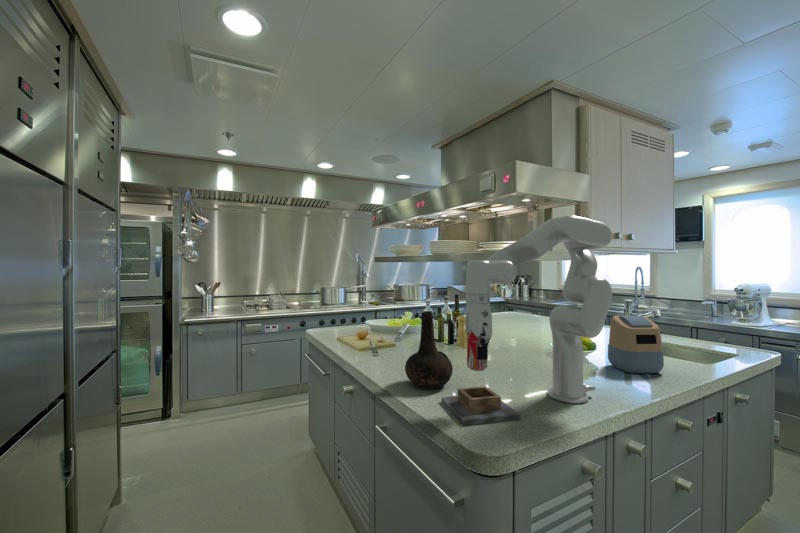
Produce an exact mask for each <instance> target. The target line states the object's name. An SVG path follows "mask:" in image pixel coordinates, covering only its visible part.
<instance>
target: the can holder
mask: <svg viewBox="0 0 800 533" xmlns="http://www.w3.org/2000/svg"><path fill="white" fill-rule="evenodd" d="M441 403H442V404H443V405H444V407H445V408H446V409H447V410H448V411H449V412H450V413H451V415H453V417H455V418H456V419H457V421H458V422H459V423H460V424H461V425H462V426H472V425H473V426H474V425H482V424H488V423H489V424H490V423H499V422H508V421H509V422H510V421H516V420H517V421H518V420H521V413H519V412H518V411H516V410H515V409H514V408H512V407H511V406H509V405H508V404H507V403H505V402H504V401H503V400H502V399H501V396H500V394H497V393H496V392H494V391H493V390H492V389H490V388H489V387H488V386H484V385H483V386H473V387H464V388H463V387H461V388H457V395H453V396H443V397H441Z"/></svg>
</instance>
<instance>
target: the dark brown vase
mask: <svg viewBox="0 0 800 533" xmlns="http://www.w3.org/2000/svg"><path fill="white" fill-rule="evenodd" d="M419 319H421V324H420V328H421V329H420V341H419V347H418V350H417V352H415V353H413V354H412V355H410V356H409V357H408V359H407V360H406V362H405V366H404V371H405V374H406V377H407V379H408V380H409V381H410V382H411V383H412V384H413V385H415V386H416V387H418V388H421V389H427V390H428V389H429V390H430V389H431V390H432V389H433V390H434V389H438V388H441V387H444V386H445V385H446V384H447V383H448V382H449V381H450V380H451V377H452V375H453V370H454V369H453V364H452V361H451V360H450V358H449V357H448V355H447V354H446V353H444V352H443V351H440V350H438V349H437V345H436V340H435V333H434V319H435V316H434V313H433V311H422V312H421V315H420V316H419Z"/></svg>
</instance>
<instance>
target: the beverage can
mask: <svg viewBox="0 0 800 533" xmlns="http://www.w3.org/2000/svg"><path fill="white" fill-rule="evenodd" d="M481 336H484V335H481ZM466 337H467V338H466V367H467V368H469V370H470V371H474V372H482V371H485V370H486V369H487V368H488V359H487V360H478V359H477V346H479V345H478V338H477V337H476V336H474V334H473V332H471V331H469V333H468V335H467V334H466ZM483 339H484V338H482V339H481V342H482V340H483Z"/></svg>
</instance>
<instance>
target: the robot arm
mask: <svg viewBox="0 0 800 533" xmlns="http://www.w3.org/2000/svg"><path fill="white" fill-rule="evenodd" d="M612 240H613V232H612V229H611V228H610V227H609V226H608V225H607V224H606V223H604V222H601V221H599V220H594V219H590V218H587V217H582V216H579V215H571V214H569V215H565V216H558V217H553V218H550V219H549V218H548V220H546V221H544V222H543V223H542V224H540V225H539V226H537V227H536V228H535V229H533V230H532V231H530V232H529V233H528V234H526V235H525V236H523V237H522V238H520V239H519V240H516V241H515V242H512V243H510V244H509V245H507V246H505V247H503V248H501V249H499V250H497V251H496V252H494V253H493V254H491V255H490V256H489V257H487V258H486V259H484V260H481V259H480V260H477V259H475V260H473V259H471V260H468V261H467V262H466V268H465V304H466V311H465V331H466V336H467V335H468V333H469V331H471V332H473V334H474V336H476V337H477V338H478V345H479V346H477V359H478V360H487V361H488V357H489V356H488V350H489V349H488V348H489V343H490V340H491V339H492V336H493V317H492V315H493V314H492V308H491V284H499V285H504V284H505V285H506V284H509V283H512V282H513V281H515V280H516V278H517V275H518V269H517V266H519V265H524V264H526V263H531V262H534V261H536V260H538V259H540V258H542V257H543V256H544V255H545V254H547V253H548V252H549V251H551V250H552V249H553V248H554V247H556V246H557V245H559V244H560V243H562V244H564V247H565V249H566V250H567V252H568V254H569V258H570V263H569V264H570V265H569V269H568V271H567V275H566V278H565V281H564V283H563V284H564V285H563V288H562V297H563V298H564V299H565V300H566V301H567V302H570V303H574V304H578V305H582V306H576V305H575V306H574V305H569V304H561V305H558V306H555V307H553V309H552V310H551V312H550V313H549V319H548V320H549V325H550V326H549V327H550V331H551V336H552V337H551V338H552V388H551V387H550V388H549V389H548V390H547V396H549V397H550V398H552V399H554V400H555V401H558V402H563V403H567V404H583V403H587V402H588V401H589V395H588V394H587V392H591V391H592V392H594V391H595V390H596V387H595V385H594V384H586V383H584V346H583V341H582V339H581V337H582V338H587V339H591V338H592V339H593V338H595V337H598V335H600V334H601V332H602V330H603V329H604V326H605V322H606V320H607V315H608V312H609V309H610V305H611V304H612V303H611V302H612V299H613V289H612V285H611V284H610V282H609V281H608V280H607V279H605V278H603V277H600V276H596V274H597V270H598V261H597V258H596V256H595V254H594V253H593V251H592V250H596V249H603V248H606V247H607V246H609V245H610V243H611V242H612ZM481 335H484V336H481ZM482 338H484V339H483V340H482V342H481V339H482Z"/></svg>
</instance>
